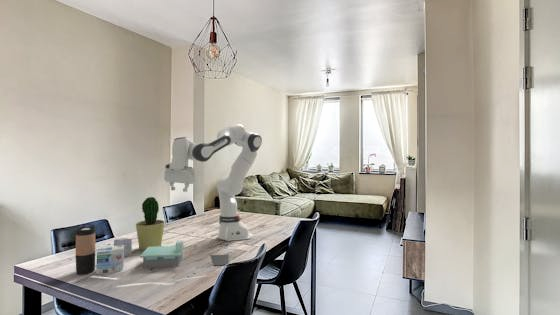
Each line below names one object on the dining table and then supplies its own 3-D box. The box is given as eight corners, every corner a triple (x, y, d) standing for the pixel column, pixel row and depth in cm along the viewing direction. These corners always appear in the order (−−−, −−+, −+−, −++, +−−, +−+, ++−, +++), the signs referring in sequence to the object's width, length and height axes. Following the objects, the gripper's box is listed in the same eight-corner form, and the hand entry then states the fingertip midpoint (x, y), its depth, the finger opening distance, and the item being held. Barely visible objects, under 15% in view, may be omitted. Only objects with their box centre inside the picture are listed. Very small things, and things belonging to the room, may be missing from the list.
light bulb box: (95, 276, 134) (96, 251, 133) (98, 270, 140) (98, 247, 140) (123, 272, 138) (123, 248, 138) (124, 267, 144) (124, 244, 144)
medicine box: (132, 255, 161) (132, 238, 161) (125, 257, 157) (125, 241, 157) (120, 253, 164) (120, 237, 164) (113, 256, 159) (113, 239, 159)
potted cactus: (158, 242, 184) (158, 193, 183) (169, 248, 173) (169, 196, 172) (131, 247, 173) (131, 195, 173) (141, 254, 162) (141, 198, 162)
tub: (182, 259, 155) (182, 248, 155) (178, 267, 144) (178, 255, 144) (149, 261, 152) (149, 249, 152) (143, 269, 142) (143, 256, 141)
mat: (228, 255, 163) (228, 254, 163) (228, 265, 148) (228, 264, 148) (192, 256, 160) (192, 255, 160) (188, 267, 145) (188, 266, 145)
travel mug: (80, 276, 133) (80, 231, 133) (72, 272, 137) (72, 228, 137) (98, 270, 139) (98, 227, 139) (90, 267, 143) (90, 225, 143)
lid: (184, 248, 157) (184, 237, 156) (180, 258, 143) (180, 246, 143) (148, 250, 154) (148, 239, 154) (139, 259, 140) (140, 247, 140)
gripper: (197, 166, 166) (197, 192, 166) (171, 165, 176) (170, 189, 176) (189, 166, 160) (188, 193, 160) (162, 165, 170) (161, 189, 170)
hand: (179, 190), depth 168 cm, fingers open, 8 cm apart
